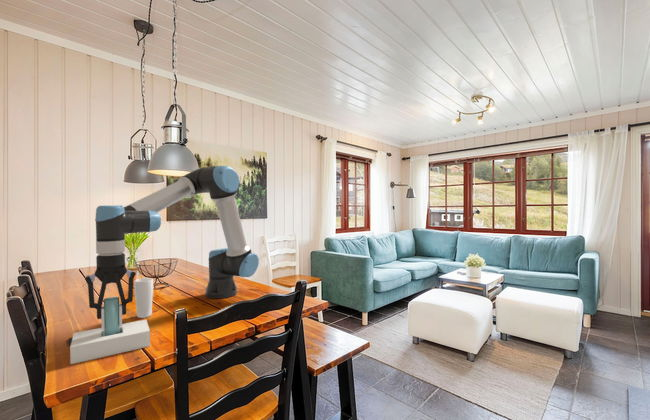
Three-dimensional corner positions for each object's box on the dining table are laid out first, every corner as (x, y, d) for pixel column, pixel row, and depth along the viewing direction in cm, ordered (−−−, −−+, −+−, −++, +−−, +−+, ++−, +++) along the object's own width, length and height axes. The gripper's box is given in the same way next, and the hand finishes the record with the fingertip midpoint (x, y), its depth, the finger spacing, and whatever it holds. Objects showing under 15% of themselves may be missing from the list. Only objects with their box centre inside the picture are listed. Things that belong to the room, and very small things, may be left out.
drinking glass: (136, 314, 130) (136, 278, 130) (155, 312, 132) (154, 277, 132) (133, 320, 124) (132, 282, 123) (152, 317, 126) (151, 280, 126)
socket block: (146, 333, 111) (146, 319, 111) (150, 346, 101) (149, 330, 101) (74, 348, 100) (74, 332, 99) (70, 364, 90) (70, 347, 90)
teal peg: (119, 338, 103) (118, 295, 103) (119, 342, 100) (119, 299, 99) (104, 341, 101) (104, 298, 100) (104, 345, 98) (103, 301, 97)
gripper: (140, 250, 108) (141, 317, 108) (77, 254, 98) (79, 328, 98) (142, 252, 101) (143, 324, 102) (75, 258, 92) (77, 337, 92)
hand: (112, 326), depth 100 cm, fingers closed on teal peg, 4 cm apart
